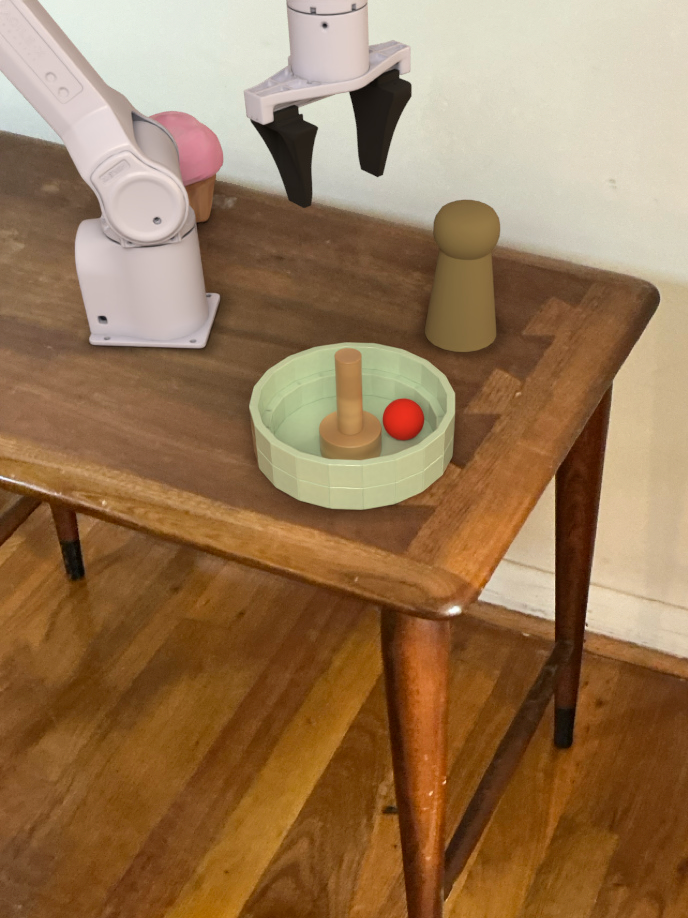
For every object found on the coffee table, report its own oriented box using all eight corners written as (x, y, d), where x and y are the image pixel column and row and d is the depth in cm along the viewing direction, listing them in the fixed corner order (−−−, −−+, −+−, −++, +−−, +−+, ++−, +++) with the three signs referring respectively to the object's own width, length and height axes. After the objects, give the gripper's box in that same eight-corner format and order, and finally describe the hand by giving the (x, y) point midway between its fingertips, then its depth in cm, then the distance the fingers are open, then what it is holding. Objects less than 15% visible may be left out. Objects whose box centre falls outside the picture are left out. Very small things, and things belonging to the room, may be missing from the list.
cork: (491, 356, 83) (502, 230, 76) (418, 347, 84) (421, 221, 76) (501, 317, 88) (512, 194, 80) (431, 308, 88) (436, 186, 81)
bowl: (242, 512, 69) (235, 461, 66) (269, 389, 80) (264, 339, 77) (451, 519, 69) (455, 468, 66) (452, 394, 79) (455, 345, 76)
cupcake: (197, 192, 104) (184, 90, 97) (247, 223, 99) (236, 119, 92) (119, 218, 99) (99, 114, 92) (168, 252, 95) (150, 145, 88)
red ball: (379, 436, 72) (389, 395, 72) (377, 433, 75) (386, 393, 75) (420, 446, 73) (430, 405, 72) (416, 442, 76) (426, 402, 75)
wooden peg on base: (311, 439, 74) (305, 345, 69) (367, 424, 76) (365, 331, 70) (333, 475, 71) (329, 380, 66) (391, 459, 73) (391, 365, 67)
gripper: (365, -32, 78) (370, 144, 87) (209, 12, 71) (232, 199, 80) (430, -11, 74) (428, 171, 84) (273, 38, 67) (290, 231, 77)
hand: (336, 187), depth 82 cm, fingers open, 7 cm apart
